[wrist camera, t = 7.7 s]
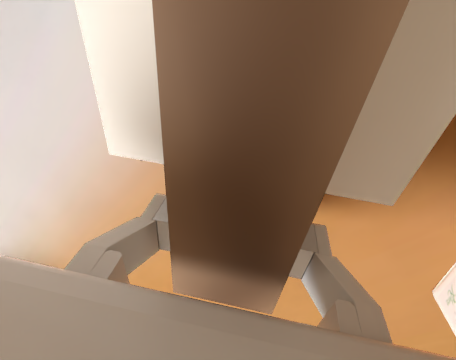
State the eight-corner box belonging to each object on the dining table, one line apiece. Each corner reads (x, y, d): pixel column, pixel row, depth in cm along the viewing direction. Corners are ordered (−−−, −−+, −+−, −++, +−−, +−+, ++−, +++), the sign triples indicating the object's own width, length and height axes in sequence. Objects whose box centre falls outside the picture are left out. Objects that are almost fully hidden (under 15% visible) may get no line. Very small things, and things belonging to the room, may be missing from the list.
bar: (194, 234, 14) (173, 291, 11) (206, -262, 5) (107, -613, 2) (273, 250, 14) (271, 314, 11) (442, -254, 5) (699, -662, 2)
